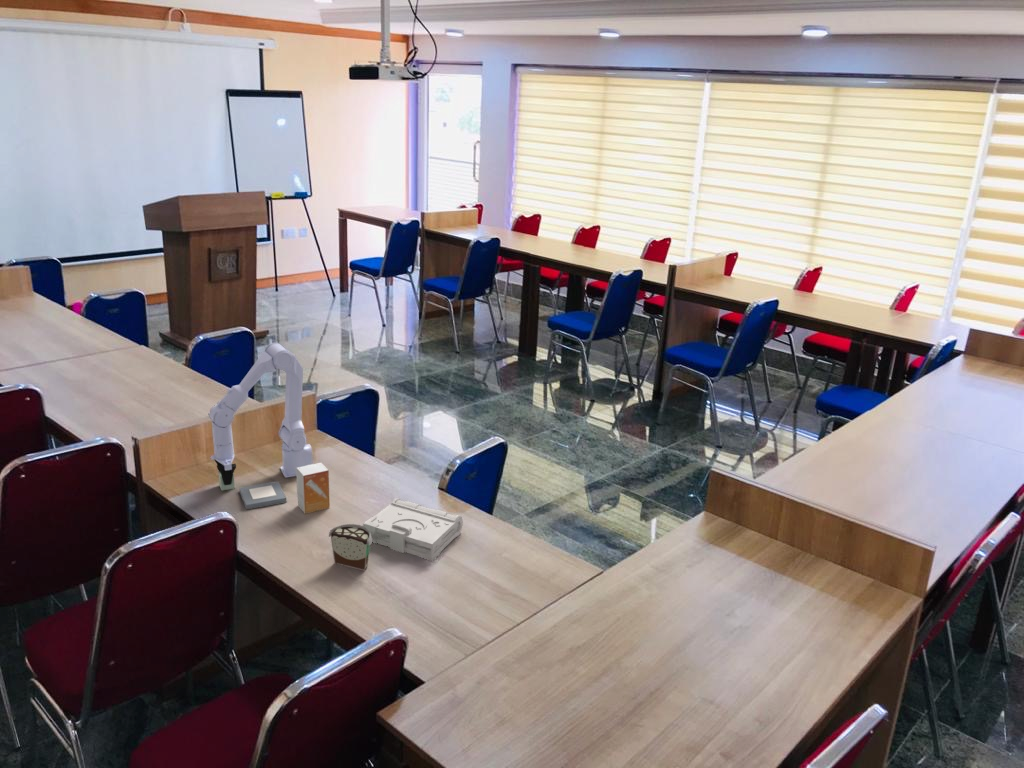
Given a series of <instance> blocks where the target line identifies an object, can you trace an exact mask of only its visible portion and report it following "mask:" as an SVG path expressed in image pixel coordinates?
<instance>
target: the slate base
mask: <svg viewBox="0 0 1024 768" xmlns="http://www.w3.org/2000/svg"><path fill="white" fill-rule="evenodd" d="M238 489H239V494H240V497H241V499H242V502H243V504H244V507H245V509H246V510H249V509H250V510H251V509H256V508H261V507H267V506H272V505H273V504H274V505H278V504H285V503H287V501H288V500H287V497H286V494H285V491H284V490H283V489H282V486H281V484H280V482H279V480H277V481H270V482H265V483H264V482H263V483H260V484H253V485H246V486H241V487H238Z"/></svg>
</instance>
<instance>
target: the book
mask: <svg viewBox="0 0 1024 768" xmlns="http://www.w3.org/2000/svg"><path fill="white" fill-rule="evenodd" d="M463 525H464V522H463V517H462V515H458V514H456V515H453V514H450V512H446V511H444V510H439V509H433V508H428V507H425V506H422V504H418V503H414V502H411V501H407V500H406V501H404V500H402V499H401V498H398V497H395V498H394V499H393V500H392V501H391V503H389V504H388V505H387V506H386V507H384V508H383V509H382V510H381V511H379V512H378V513H376V514H375V515H374V516H371V517H370V518H369V519H366V520H365V521H364V522H363V527H365V528H367V529H368V530H369V532H370V534H371V537H372V542H373V543H372V544H375V543H376V544H377V543H378V545H381V546H384V547H387V546H388V548H389V550H391V549H393V550H392V551H394V550H396V551H395V552H398V551H399V552H398V553H401V552H402V554H405V553H406V552H407V554H410V555H413V556H416V557H418V558H420V557H421V558H420V559H423V558H424V560H426V559H427V561H430V562H433V561H434V560H436V558H437V557H439V555H440V554H441V553H442V551H443V550H444V549H446V547H447V546H448V545H449V544H450V543H451V542H452V541H454V539H455V538H456V537H457V538H458V537H459V536H460V534H461V532H462V530H463ZM376 544H375V545H376ZM404 552H405V553H404Z"/></svg>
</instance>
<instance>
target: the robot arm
mask: <svg viewBox="0 0 1024 768" xmlns="http://www.w3.org/2000/svg"><path fill="white" fill-rule="evenodd" d="M276 368H277V369H276ZM277 370H281V371H284V372H285V391H284V392H285V395H284V400H285V401H284V418H283V419H282V420H281V426H280V428H279V430H278V437H279V438H280V440H282V444H281V453H282V455H281V456H282V466H280V470H281V473H282V474H283V477H284V478H293V477H297V476H296V468H298V467H302V466H306V465H311V464H314V459H313V458H314V457H313V455H314V454H313V448H312V446H311V444H310V443H307V442H308V439H307V438H308V437H307V435H306V434H305V426H304V424H303V421H302V414H303V413H302V410H303V407H302V405H303V386H304V385H303V381H304V380H303V379H304V377H303V376H304V367H303V366H302V365H301V363H300V361H299V360H298V358H297V356H296V354H294V353H293V352H291V351H289V349H288V348H287V347H285V346H283V345H282V344H280V343H279V342H271V343H268V345H267V346H266V347H265V348H264V350H262V351H261V352H260V354H259V356H258V358H257V360H256V361H255V362H254V364H253V365H252V366H251V368H250V369H249V371H248V372H247V374H246V375H245V376H244V377H243V379H241V382H240V383H239V384H236V385H232V386H231V388H230V387H228V389H226V393H225V395H223V397H222V398H221V399H220V401H219V400H218V401H217V402H216V405H213V406H212V407H211V408H210V409H209V413H208V418H209V419H210V420H211V425H212V426H211V427H212V428H211V430H212V440H213V441H212V442H213V452H214V454H213V455H211V456H210V459H211V461H214V462H215V463H216V469H217V470H218V471H219V472H220V473H221V476H222V479H223V483H224V485H231V483H232V478H233V474H234V473H235V470H236V469H237V464H236V463H233V461H234V459H235V455H236V454H235V452H234V451H235V450H234V442H233V429H232V428H233V427H232V423H233V421H234V420H235V419H234V415H235V414H236V412H237V411H238V410H240V408H241V407H242V405H244V403H245V402H246V401H247V400H248V399H249V391H250V390H252V388H253V387H254V386H255V385H256V384H257V382H259V380H260V379H261V378H262V377H263V376H264V375H265V374H267V373H274V372H277Z"/></svg>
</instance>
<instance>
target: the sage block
mask: <svg viewBox="0 0 1024 768" xmlns="http://www.w3.org/2000/svg"><path fill="white" fill-rule="evenodd" d="M217 472H218V481H219V487H220V490H221V491H227V490H234V489H235V475H234V473H233V478H232V483H231V485H224V483H223V479H222V476H221V473H220V472H219V470H218V471H217Z"/></svg>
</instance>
